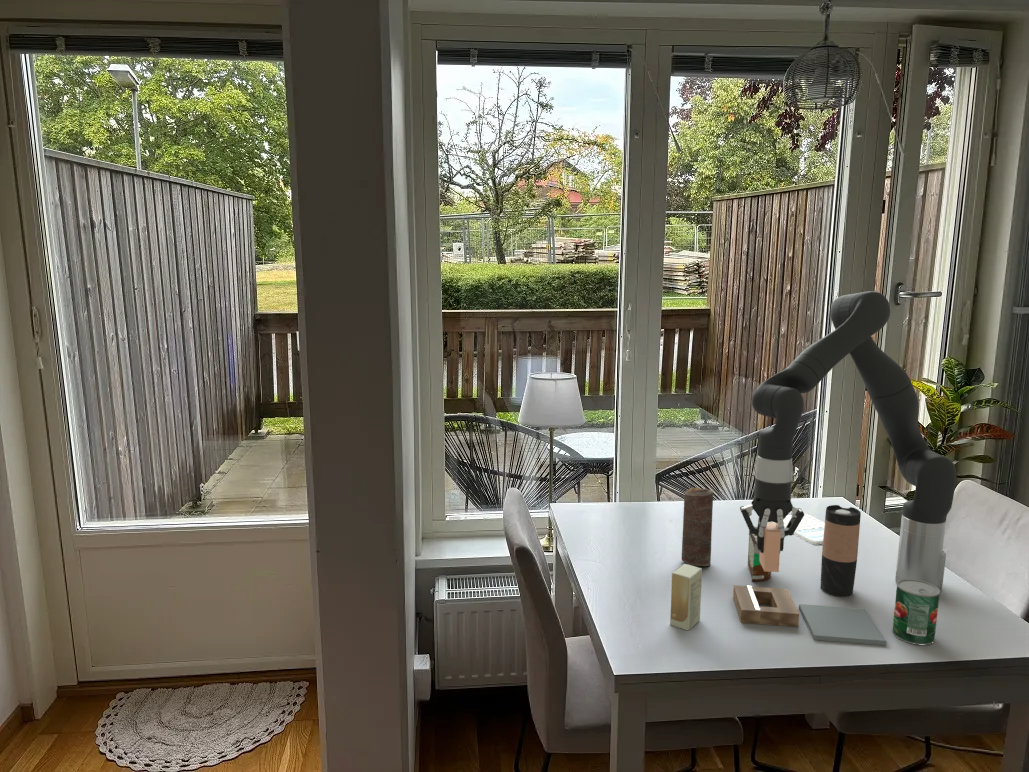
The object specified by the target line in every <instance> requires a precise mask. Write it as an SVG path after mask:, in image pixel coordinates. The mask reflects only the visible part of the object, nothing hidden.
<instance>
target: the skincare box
mask: <svg viewBox="0 0 1029 772" xmlns="http://www.w3.org/2000/svg"><path fill="white" fill-rule="evenodd" d="M702 577H703V568H702V567H699V566H696V565H690V564H688V563H683V564H682V565H680V566H679V567H678V568H676V569H675V570H673V571H672V573H671V588H670V589H671V590H670V591H671V592H670V593H671V594H670V595H671V597H670V598H671V599H670V622H669V623H670V624H669V625H670V626H673V627H676V628H679V629H682V630H685V631H689V630H691V629H692V628H693V627H694V626H695V625H696V624H697V623H698V622H700V621H701V602H702V601H701V600H702V599H701V598H702V581H703V579H702Z"/></svg>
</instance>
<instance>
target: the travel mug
mask: <svg viewBox="0 0 1029 772" xmlns="http://www.w3.org/2000/svg"><path fill="white" fill-rule="evenodd" d="M861 513H862V512H861V511H860V510H859V509H857V508H855V507H853V506H852V507H851V506H850V507H842V506H840V505H838V504H831V505H828V506H826V509H825V518H824V523H825V526H824V537H823V544H822V551H821V567H820V569H821V570H820V589H821V591H822V592H824V593H825V594H828V595H830V596H834V597H843V598H845V597H849V596H852V595H853V594H854V587H855V579H856V571H857V564H858V563H857V562H858V556H859V555H858V554H859V542H860V541H859V539H860V529H861V528H860V527H861V517H862V515H861Z"/></svg>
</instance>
